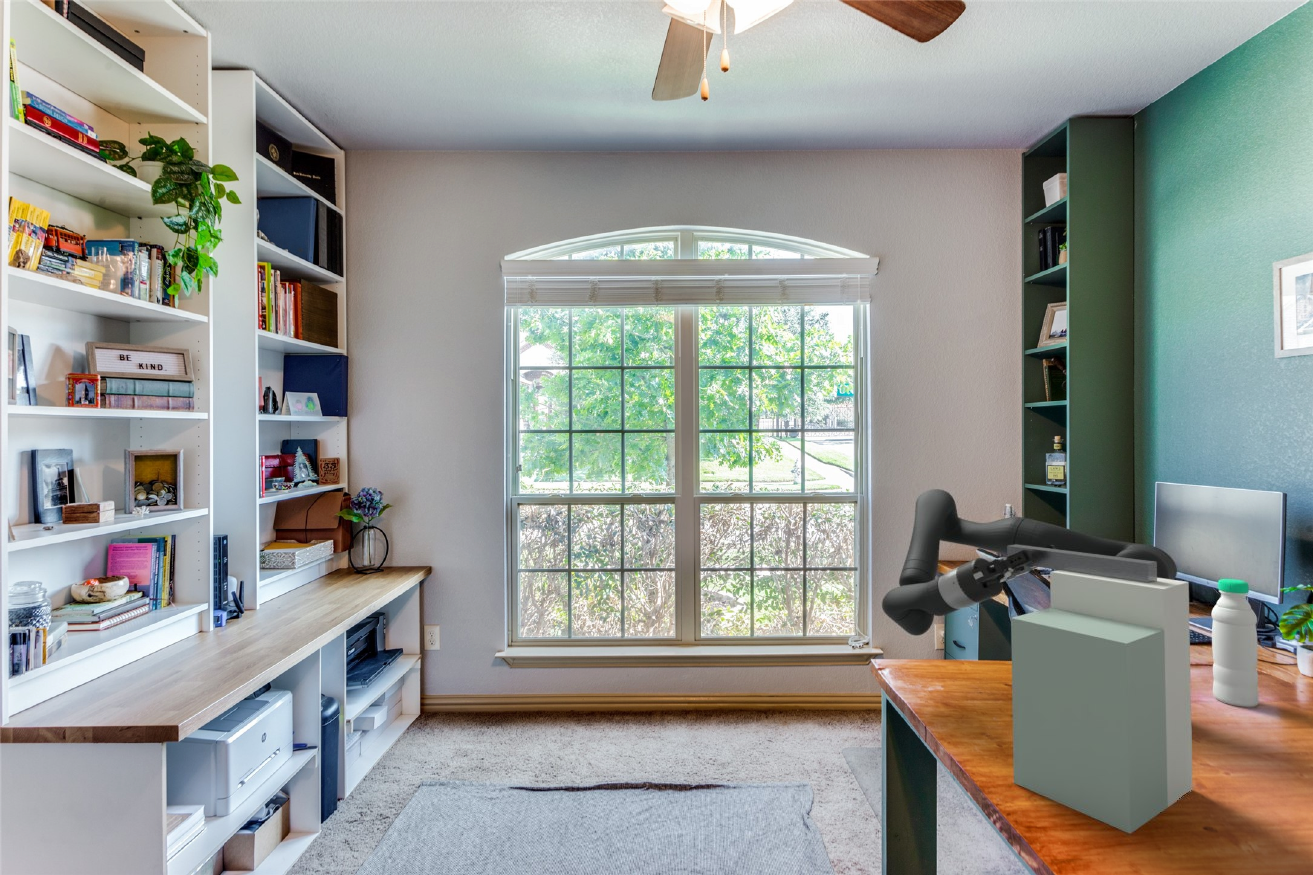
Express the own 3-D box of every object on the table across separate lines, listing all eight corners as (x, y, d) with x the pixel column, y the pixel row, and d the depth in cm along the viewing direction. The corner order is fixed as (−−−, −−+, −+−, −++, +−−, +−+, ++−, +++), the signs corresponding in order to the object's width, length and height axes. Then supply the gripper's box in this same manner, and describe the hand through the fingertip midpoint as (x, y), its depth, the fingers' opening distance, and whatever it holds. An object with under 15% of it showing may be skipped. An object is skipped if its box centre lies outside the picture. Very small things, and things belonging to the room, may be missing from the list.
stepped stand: (1013, 782, 102) (1010, 580, 103) (1080, 749, 113) (1076, 566, 114) (1130, 833, 89) (1125, 599, 89) (1192, 789, 100) (1188, 581, 100)
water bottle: (1204, 695, 137) (1201, 577, 137) (1234, 694, 137) (1232, 576, 138) (1236, 708, 130) (1233, 584, 130) (1268, 707, 130) (1266, 583, 131)
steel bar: (1007, 562, 118) (1007, 545, 118) (1016, 560, 120) (1016, 544, 120) (1148, 583, 99) (1148, 563, 100) (1157, 580, 101) (1156, 561, 101)
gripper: (938, 569, 124) (1010, 535, 112) (981, 562, 131) (1052, 529, 120) (956, 607, 121) (1032, 576, 109) (999, 598, 128) (1075, 567, 116)
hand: (1043, 552), depth 114 cm, fingers open, 8 cm apart
